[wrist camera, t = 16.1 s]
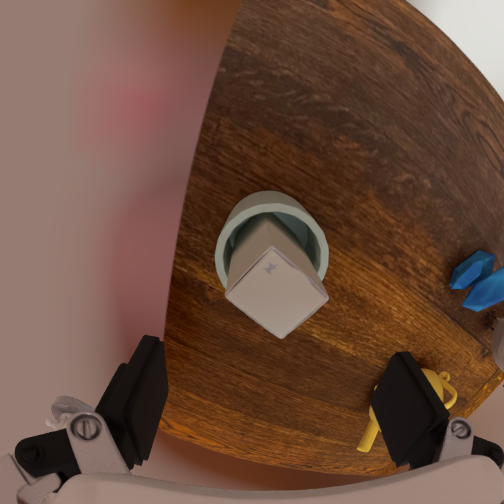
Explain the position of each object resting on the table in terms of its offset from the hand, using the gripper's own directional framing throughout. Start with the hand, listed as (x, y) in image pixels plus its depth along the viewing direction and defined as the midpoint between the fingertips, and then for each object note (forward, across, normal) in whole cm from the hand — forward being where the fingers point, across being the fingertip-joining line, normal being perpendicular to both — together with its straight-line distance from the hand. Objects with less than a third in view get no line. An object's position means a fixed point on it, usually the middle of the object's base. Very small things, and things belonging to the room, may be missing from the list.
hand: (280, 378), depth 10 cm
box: (+20, 0, 0) cm, 20 cm away
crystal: (+20, -29, 0) cm, 36 cm away
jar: (+20, 0, -1) cm, 20 cm away
